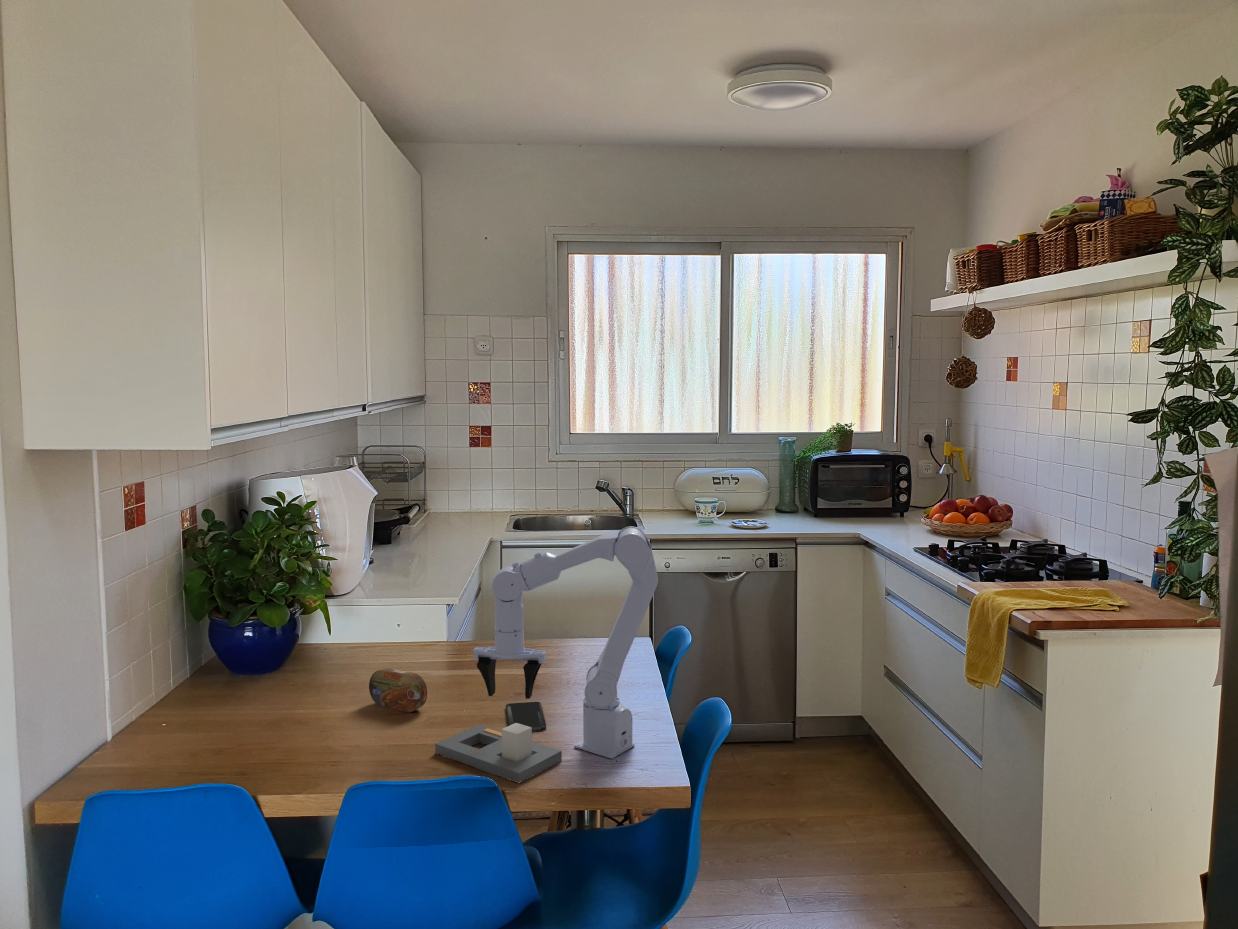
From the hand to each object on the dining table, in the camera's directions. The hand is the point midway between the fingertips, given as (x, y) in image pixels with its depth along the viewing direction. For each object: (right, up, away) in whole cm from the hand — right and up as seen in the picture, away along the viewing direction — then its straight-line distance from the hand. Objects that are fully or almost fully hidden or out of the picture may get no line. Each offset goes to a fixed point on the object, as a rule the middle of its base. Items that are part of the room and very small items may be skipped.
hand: (510, 695), depth 176 cm
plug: (+2, -11, -7) cm, 13 cm away
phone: (+1, -9, +15) cm, 18 cm away
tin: (-27, -9, +22) cm, 36 cm away
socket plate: (-2, -11, -4) cm, 12 cm away
